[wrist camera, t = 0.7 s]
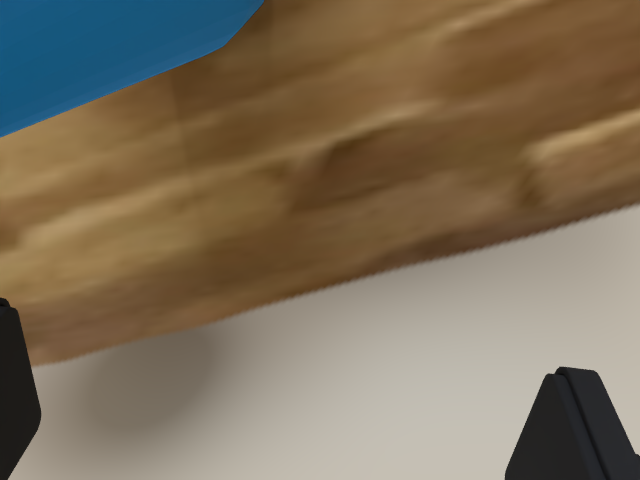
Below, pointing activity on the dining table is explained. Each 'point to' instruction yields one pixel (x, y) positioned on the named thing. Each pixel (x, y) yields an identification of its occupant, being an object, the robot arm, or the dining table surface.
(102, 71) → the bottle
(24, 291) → the dining table surface
